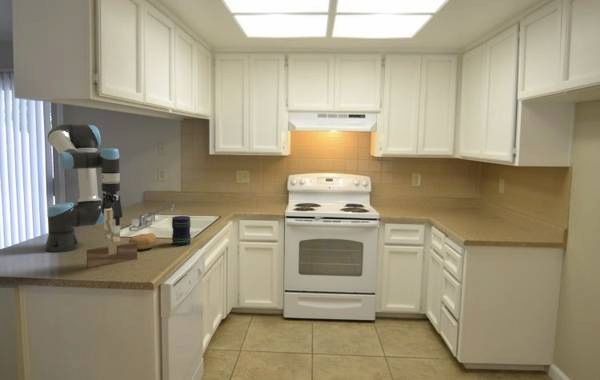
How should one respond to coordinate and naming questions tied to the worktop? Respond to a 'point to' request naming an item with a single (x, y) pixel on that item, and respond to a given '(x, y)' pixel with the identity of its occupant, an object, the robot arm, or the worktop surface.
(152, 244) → the potato
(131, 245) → the walnut board
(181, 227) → the storage jar
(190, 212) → the worktop surface
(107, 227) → the birch plate
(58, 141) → the robot arm
